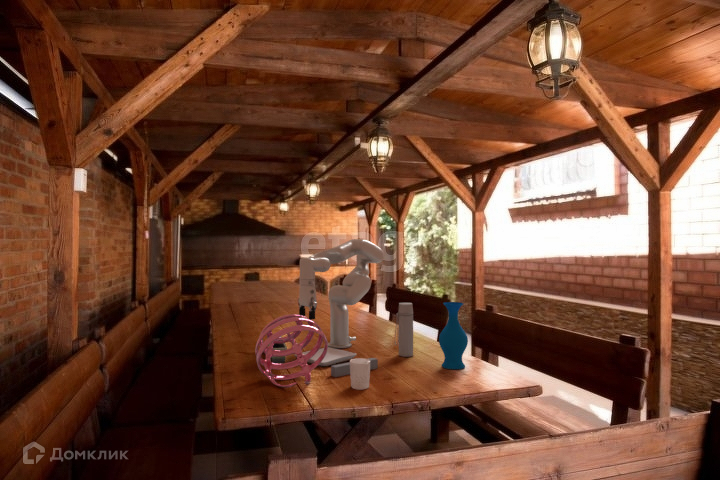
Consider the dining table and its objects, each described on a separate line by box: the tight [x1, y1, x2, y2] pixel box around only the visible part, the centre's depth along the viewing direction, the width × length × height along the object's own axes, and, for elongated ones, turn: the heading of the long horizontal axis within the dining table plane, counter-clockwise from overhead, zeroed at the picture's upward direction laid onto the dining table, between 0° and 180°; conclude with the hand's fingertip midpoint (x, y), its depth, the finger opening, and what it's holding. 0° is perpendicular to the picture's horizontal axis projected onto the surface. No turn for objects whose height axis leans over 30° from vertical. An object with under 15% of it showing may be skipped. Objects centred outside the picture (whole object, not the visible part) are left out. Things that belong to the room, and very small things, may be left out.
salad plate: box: [294, 347, 357, 367], centre depth 218 cm, size 21×21×3 cm
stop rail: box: [330, 357, 379, 378], centre depth 199 cm, size 22×3×4 cm, turn 126°
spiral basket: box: [254, 313, 329, 389], centre depth 183 cm, size 28×28×27 cm
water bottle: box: [394, 302, 414, 358], centre depth 226 cm, size 9×8×25 cm
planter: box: [266, 337, 288, 364], centre depth 225 cm, size 28×7×7 cm, turn 15°
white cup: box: [349, 357, 371, 391], centre depth 179 cm, size 8×8×10 cm
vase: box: [438, 301, 469, 371], centre depth 206 cm, size 12×13×28 cm
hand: (307, 317), depth 231 cm, fingers open, 9 cm apart
